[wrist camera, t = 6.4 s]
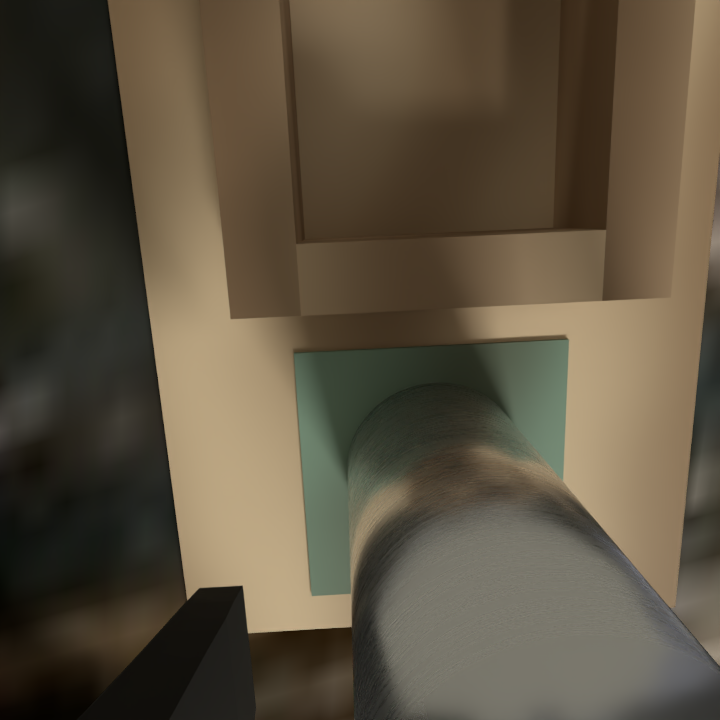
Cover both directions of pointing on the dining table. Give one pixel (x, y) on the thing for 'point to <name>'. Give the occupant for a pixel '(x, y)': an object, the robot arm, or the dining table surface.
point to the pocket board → (417, 255)
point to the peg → (497, 582)
